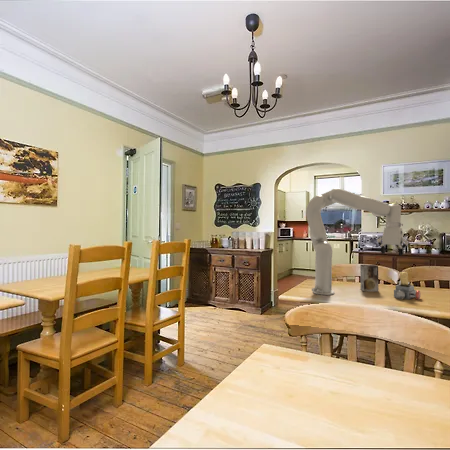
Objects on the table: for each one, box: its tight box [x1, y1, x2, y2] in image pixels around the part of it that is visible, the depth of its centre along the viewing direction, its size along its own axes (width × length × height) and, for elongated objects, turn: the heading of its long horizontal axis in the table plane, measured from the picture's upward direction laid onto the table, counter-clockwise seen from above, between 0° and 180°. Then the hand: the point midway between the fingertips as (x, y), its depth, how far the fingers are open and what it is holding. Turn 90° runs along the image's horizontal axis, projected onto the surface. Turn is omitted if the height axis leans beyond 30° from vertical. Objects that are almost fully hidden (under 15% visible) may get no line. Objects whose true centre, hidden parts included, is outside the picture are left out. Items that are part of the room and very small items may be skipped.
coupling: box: [399, 271, 409, 287], centre depth 176 cm, size 4×4×10 cm
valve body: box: [393, 283, 421, 301], centre depth 175 cm, size 16×11×7 cm
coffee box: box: [359, 264, 380, 292], centre depth 193 cm, size 9×6×16 cm
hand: (391, 254), depth 179 cm, fingers open, 9 cm apart
